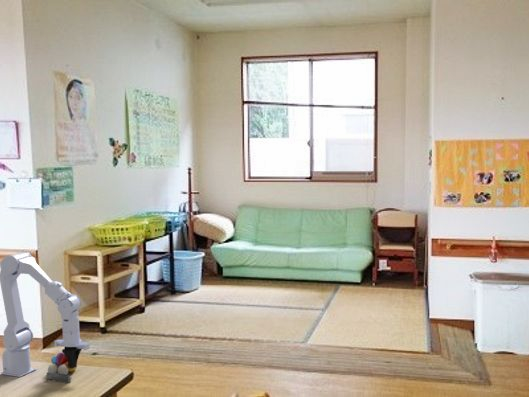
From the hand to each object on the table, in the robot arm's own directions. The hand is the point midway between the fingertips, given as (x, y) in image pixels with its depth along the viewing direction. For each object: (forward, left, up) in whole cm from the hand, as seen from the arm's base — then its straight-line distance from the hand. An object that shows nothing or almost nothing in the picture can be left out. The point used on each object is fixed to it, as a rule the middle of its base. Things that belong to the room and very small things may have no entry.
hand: (73, 367), depth 205 cm
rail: (-1, -6, -3) cm, 7 cm away
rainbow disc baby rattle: (-6, +1, -3) cm, 7 cm away
